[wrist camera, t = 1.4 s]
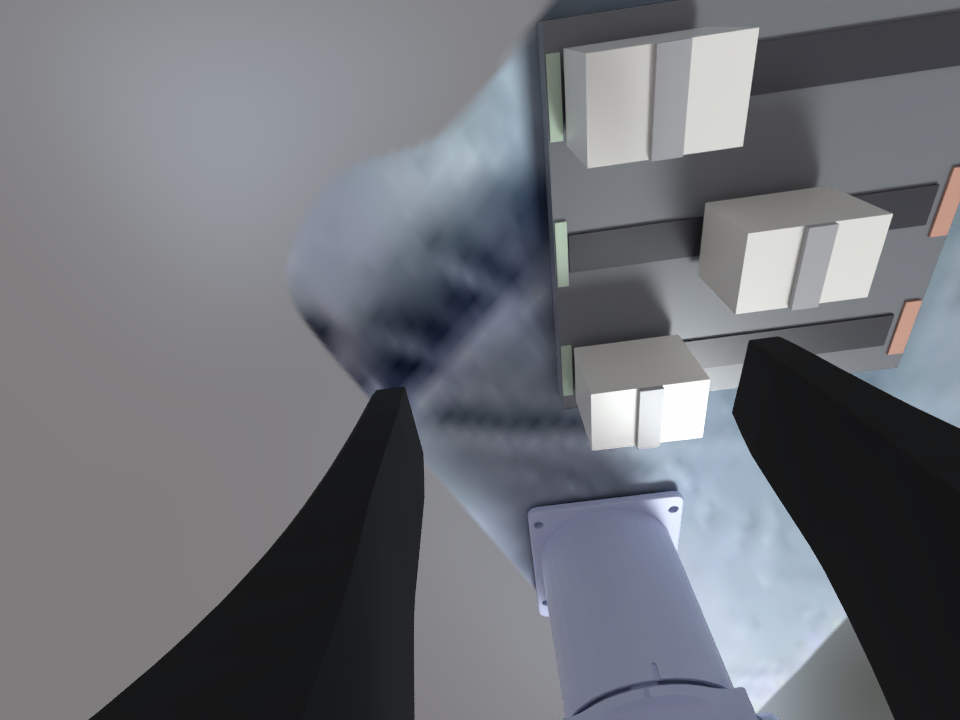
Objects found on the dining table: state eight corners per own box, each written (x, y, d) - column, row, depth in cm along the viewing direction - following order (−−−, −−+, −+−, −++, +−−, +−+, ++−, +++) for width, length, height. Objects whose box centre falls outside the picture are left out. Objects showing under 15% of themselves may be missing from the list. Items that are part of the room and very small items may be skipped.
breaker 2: (673, 388, 21) (704, 441, 19) (576, 400, 21) (592, 454, 19) (678, 334, 20) (712, 382, 17) (574, 347, 20) (592, 398, 17)
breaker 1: (697, 127, 16) (746, 147, 13) (566, 145, 16) (589, 170, 13) (706, 26, 14) (763, 27, 12) (563, 48, 15) (587, 53, 12)
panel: (877, 352, 23) (899, 368, 22) (558, 392, 23) (563, 410, 22) (1016, -52, 15) (1060, -58, 14) (536, 21, 16) (542, 21, 15)
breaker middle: (811, 259, 18) (871, 299, 16) (697, 274, 19) (738, 317, 16) (828, 185, 17) (898, 216, 14) (705, 202, 17) (751, 235, 14)
